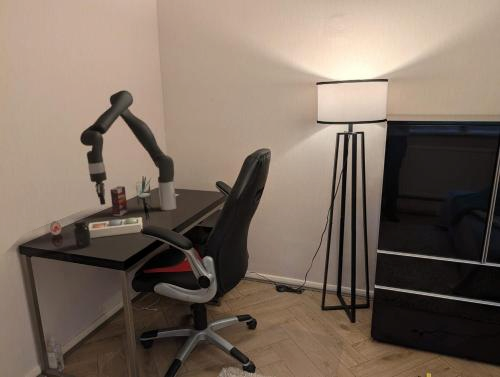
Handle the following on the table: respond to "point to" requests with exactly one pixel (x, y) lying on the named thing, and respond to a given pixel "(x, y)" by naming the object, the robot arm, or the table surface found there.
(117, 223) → the button slate
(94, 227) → the button terracotta
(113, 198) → the supplement box
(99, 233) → the button box
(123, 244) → the table surface
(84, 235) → the supplement bottle
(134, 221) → the button sage
